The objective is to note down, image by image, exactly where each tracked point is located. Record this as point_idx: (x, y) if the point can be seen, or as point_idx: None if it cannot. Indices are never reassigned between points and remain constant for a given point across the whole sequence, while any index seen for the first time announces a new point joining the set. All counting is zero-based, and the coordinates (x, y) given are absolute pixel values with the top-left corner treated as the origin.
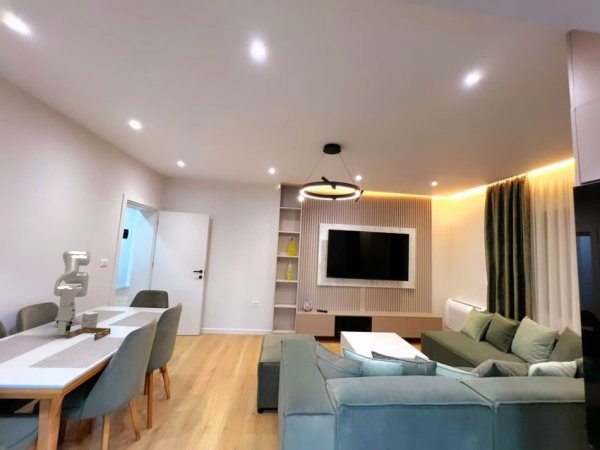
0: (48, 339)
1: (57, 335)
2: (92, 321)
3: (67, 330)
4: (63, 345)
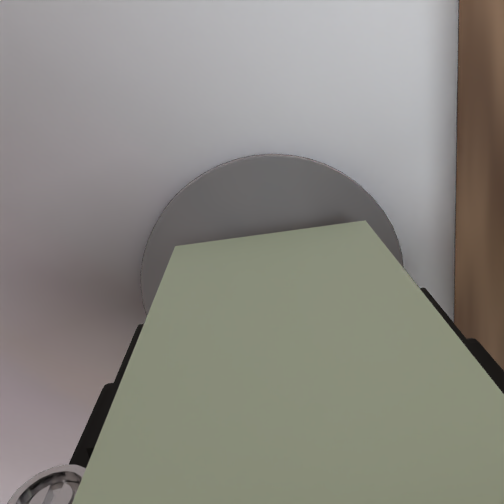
0: None
1: None
2: None
3: None
4: None
